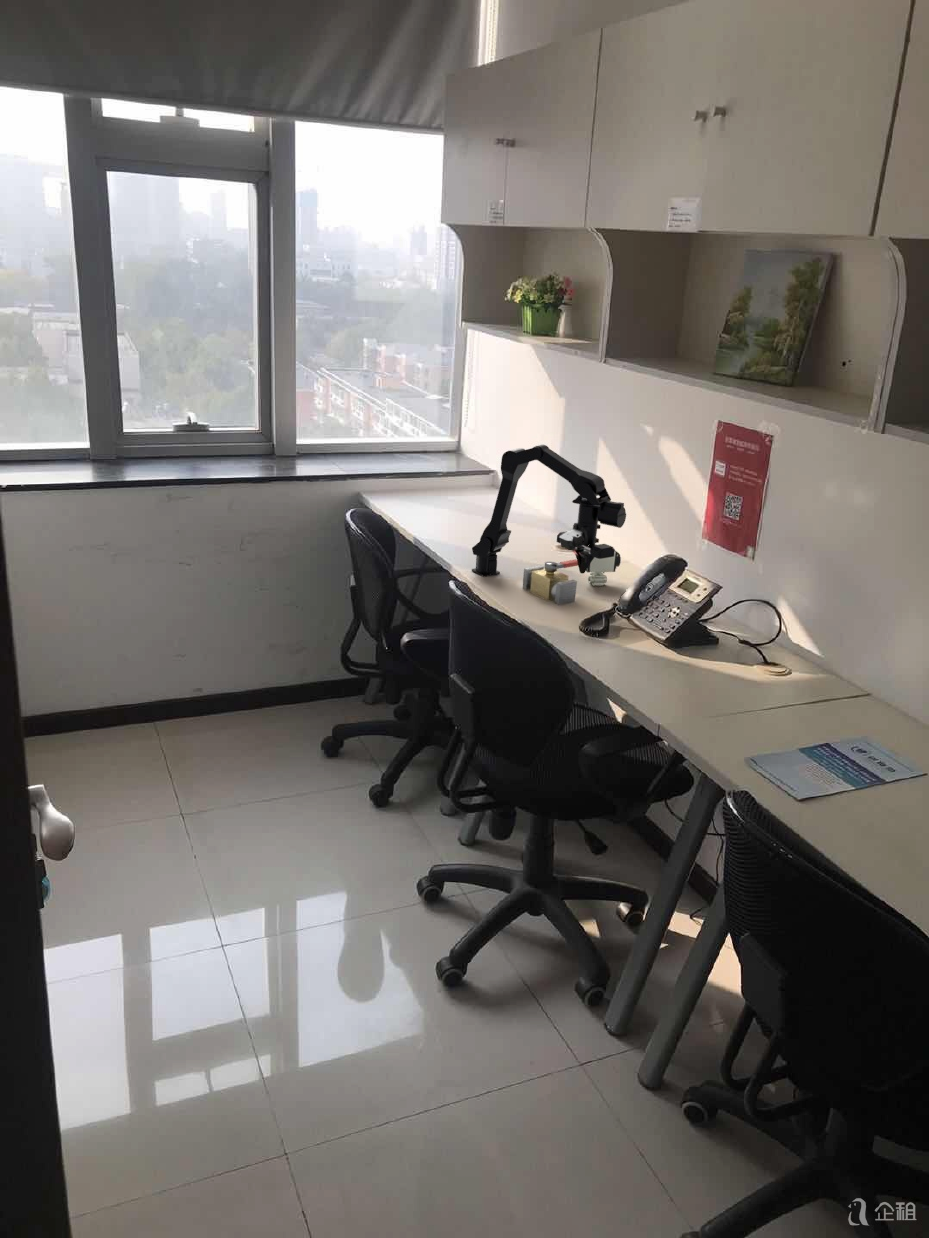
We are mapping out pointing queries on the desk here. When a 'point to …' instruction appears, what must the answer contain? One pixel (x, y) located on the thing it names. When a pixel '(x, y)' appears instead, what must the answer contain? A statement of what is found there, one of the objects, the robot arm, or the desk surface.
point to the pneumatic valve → (602, 569)
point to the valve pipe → (549, 585)
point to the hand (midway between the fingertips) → (582, 573)
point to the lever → (559, 565)
